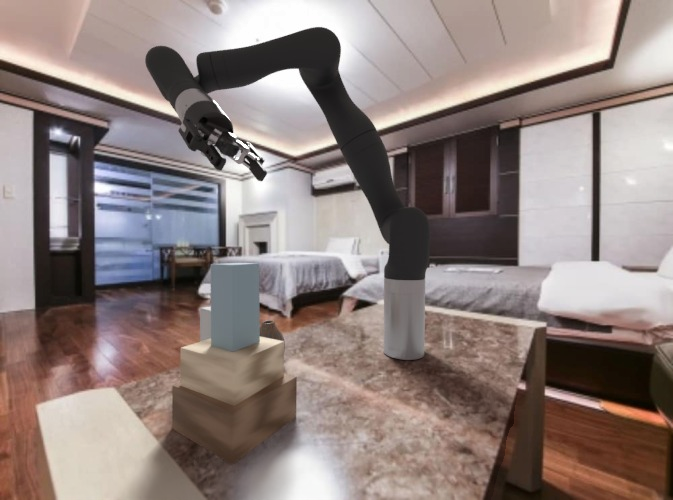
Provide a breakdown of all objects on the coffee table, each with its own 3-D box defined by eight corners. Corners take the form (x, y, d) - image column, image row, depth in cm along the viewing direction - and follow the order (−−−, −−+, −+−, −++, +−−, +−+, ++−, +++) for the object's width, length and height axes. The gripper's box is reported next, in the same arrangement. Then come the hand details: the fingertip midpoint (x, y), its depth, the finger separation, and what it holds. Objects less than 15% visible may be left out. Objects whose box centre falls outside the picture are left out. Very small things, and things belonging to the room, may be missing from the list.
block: (238, 337, 43) (238, 262, 43) (259, 342, 41) (259, 263, 41) (211, 345, 40) (210, 264, 39) (232, 351, 37) (231, 265, 37)
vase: (276, 373, 56) (277, 327, 56) (243, 369, 57) (244, 325, 57) (289, 359, 63) (290, 318, 63) (259, 356, 64) (260, 316, 64)
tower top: (233, 362, 46) (234, 331, 46) (283, 376, 42) (284, 341, 42) (180, 385, 39) (180, 347, 39) (234, 405, 34) (234, 362, 34)
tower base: (239, 395, 48) (239, 358, 48) (296, 418, 42) (296, 376, 42) (172, 430, 39) (172, 385, 39) (231, 467, 32) (232, 413, 32)
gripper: (173, 82, 48) (216, 139, 42) (243, 116, 60) (285, 164, 54) (157, 122, 51) (194, 181, 45) (227, 147, 63) (264, 195, 57)
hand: (244, 171), depth 49 cm, fingers open, 8 cm apart
